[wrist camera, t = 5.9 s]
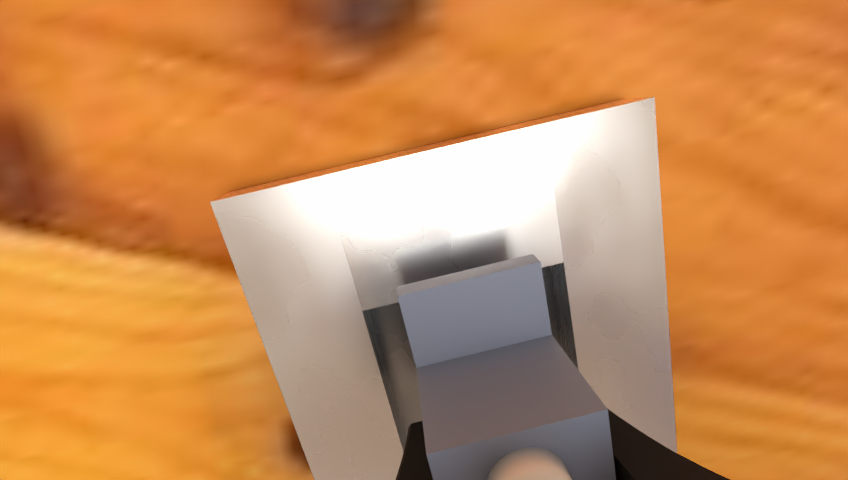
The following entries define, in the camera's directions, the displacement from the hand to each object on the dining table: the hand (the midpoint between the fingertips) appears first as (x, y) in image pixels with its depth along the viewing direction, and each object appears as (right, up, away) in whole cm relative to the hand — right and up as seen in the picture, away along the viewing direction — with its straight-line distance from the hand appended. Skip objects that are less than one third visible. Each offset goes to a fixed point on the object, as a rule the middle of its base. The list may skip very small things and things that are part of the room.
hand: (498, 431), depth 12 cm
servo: (0, +1, +2) cm, 2 cm away
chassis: (0, +1, +3) cm, 3 cm away
